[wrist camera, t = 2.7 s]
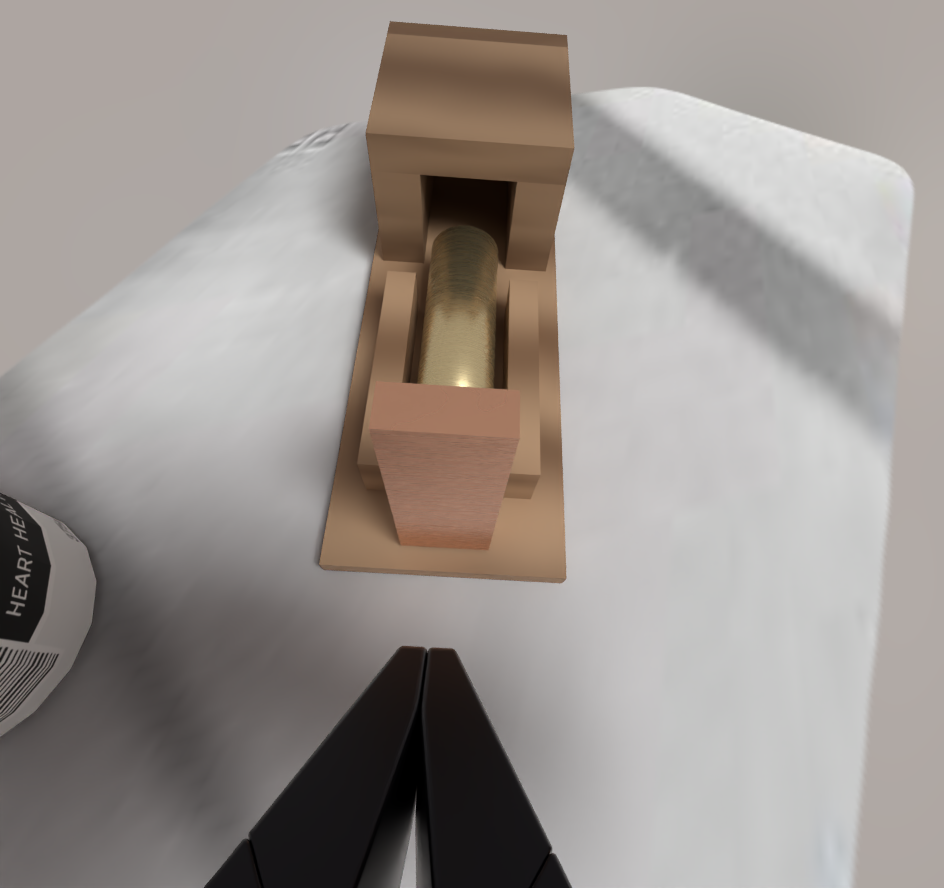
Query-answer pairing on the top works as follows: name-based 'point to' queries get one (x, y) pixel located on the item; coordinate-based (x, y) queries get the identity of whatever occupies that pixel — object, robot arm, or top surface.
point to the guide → (518, 278)
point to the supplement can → (39, 607)
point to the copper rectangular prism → (450, 407)
